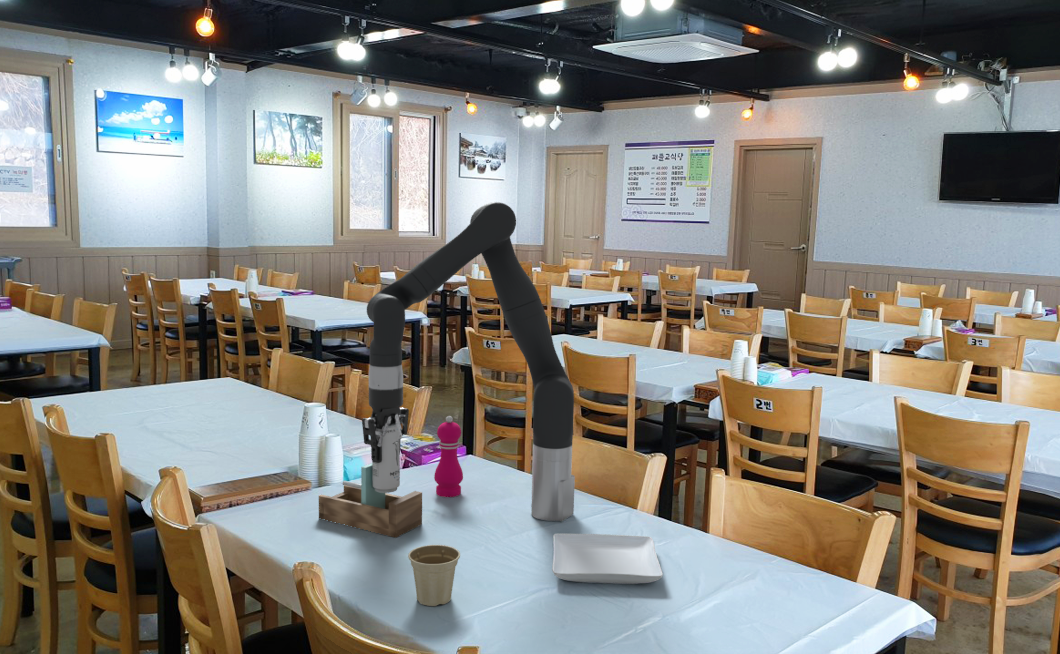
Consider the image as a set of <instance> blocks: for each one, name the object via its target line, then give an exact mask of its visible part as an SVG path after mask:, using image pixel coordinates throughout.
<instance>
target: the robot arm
mask: <svg viewBox="0 0 1060 654" xmlns="http://www.w3.org/2000/svg"><path fill="white" fill-rule="evenodd" d="M516 217H517V216H516V214H515V211H514V210H513V209H512V208H511V206H509V205H508V204H506V203H503V202H499V201H498V202H497V201H493V202H488V203H486V204H484V205H482V206H480V207H479V208H477V209H476V210H475V211H474V212H473V214H472V215H471V217H470V222H469V224H468V225H467V226H466V227H465V229H463V230H462V231H461V232H460V233H458V234H457V236H455V237H454V238H452V239H451V240H450V241H448V242H447V243H446V244H444V245H443V246H441V247H440V248H438V249H437V250H435V251H434V252H431V254H430V255H428V256H426V257H425V258H423V259H422V260H421V261H420V262H418V264H416V265H415V266H414V267H413V268H411V269H410V270H409V271H407V272H406V273H405V274H404V275H403V276H401V278H399V279H398V280H395V281H394V282H392V283H391V284H389V285H387V286H385V287H384V288H382V289H381V290H380V291H378V292H377V293H375V294H374V295H373V296H372V297H371V298H370V300H369V301H368V302H367V306H366V315H367V316H368V319H369V321H370V322H372V323H373V333H372V335H373V336H372V338H373V339H371V341H370V344H369V368H368V405H369V407H370V408H371V410H372V411H371V414H370V415H371V416H370V417H368V418H366V417H363V418H362V420H361V423H362V424H361V425H362V434H363V443H364V445H368V446H370V452H371V453H370V454H371V462H372V461H373V462H375V463H380V462H382V446H381V444H382V441H383V437H384V436H385V435H386V432H387V429H388V426H389V425H392V424H397V428H398V429H399V431H400V440H402V439H403V436H404V435H405V436H406V435H407V434H408V424H409V412H410V409H409V408H406V407H402V406H403V405H404V371H403V350H402V349H403V348H402V347H403V346H402V342H403V340H404V339H403V338H404V331H405V326H406V310H407V309H408V308H409V307H411V306H412V305H414V304H419V303H421V302H423V301H425V300H426V299H427V298H428V297H430V296H431V295H432V294H434V293H435V292H436V291H438V289H440V288H441V287H442V286H443V285H444V284H445V283H447V282H448V281H449V280H450V279H451V278H452V277H453V276H454V275H456V274H457V273H459V271H460V270H461V269H463V267H465V266H467V264H468V263H470V262H471V261H473V260H475V258H477V257H478V256H480V255H481V256H482V258H483V260H484V262H485V264H486V268H487V269H488V271H489V274H490V277H491V282H492V285H493V287H494V290H495V293H496V296H497V300H498V302H499V304H500V308H501V311H502V314H503V317H504V319H505V322H506V325H507V327H508V329H509V332H510V334H511V336H512V338H513V339H514V342H515V343H516V345H517V347H518V348H519V350H520V352H521V353H522V355H523V357H524V359H525V361H526V364H527V367H528V370H529V373H530V376H531V380H532V385H533V388H534V393H533V404H532V405H533V407H532V409H533V410H532V412H533V413H532V465H531V468H532V472H531V475H532V476H531V477H532V478H531V505H530V506H531V507H530V508H531V513H530V514H531V515H532V517H534V518H535V519H537V520H542V521H547V522H548V521H549V522H550V521H551V522H554V521H555V522H564V521H565V520H567V519H568V518H570V517H572V516H573V515H574V514H575V513H574V511H575V482H576V481H575V480H576V477H575V475H574V474H572V469H573V468H572V463H573V438H574V413H575V412H574V409H575V408H574V407H575V393H574V387H573V385H572V383H571V381H570V379H569V377H568V375H567V373H566V370H565V369H564V367H563V365H562V362H561V360H560V358H559V356H558V354H557V351H556V348H555V344H554V340H553V336H552V332H551V328H550V324H549V321H548V317H547V315H546V311H545V309H544V305H543V303H542V300H541V298H540V295H539V292H538V291H537V289H536V287H535V285H534V283H533V282H532V280H531V278H530V277H529V275H528V274H527V272H526V271H525V269H523V267H522V265H521V264H520V261H519V260H518V258H517V256H516V252H515V249H514V246H513V242H512V240H511V236H512V235H513V233H514V232H515V229H516V226H517V218H516ZM375 428H377V429H382V431H381V432H378V431H375ZM376 435H378V440H376ZM572 514H573V515H572Z"/></svg>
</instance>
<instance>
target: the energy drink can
mask: <svg viewBox="0 0 1060 654" xmlns="http://www.w3.org/2000/svg"><path fill="white" fill-rule="evenodd" d="M375 431H378V432H381V431H382V429H377V428H375ZM376 440H378V435H376ZM381 446H382V462H380V463H375V462H373V461H372V460H371V463H372V481H373V487H374V488H375V491H377V492H380V493H388V494H391V493H394V492H397V491H398V488H399V487H400V486H401V485H400V484H401V483H400V482H401V480H400V479H401V474H400V473H401V471H400V470H401V467H400V463H401V461H400V457H401V439H400V431H399V429H398V428H397V424H392V425H389V426H388V429H387V432H386V435H385V436H384V437H383V441H382V444H381Z"/></svg>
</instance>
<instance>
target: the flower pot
mask: <svg viewBox="0 0 1060 654" xmlns="http://www.w3.org/2000/svg"><path fill="white" fill-rule="evenodd" d="M407 558H408V560H409V561H410V565H411V568H412V570H413V578H414V585H415V592H416V599H417V601H418V602H419V604H421V605H422V606H423V605H424V606H428V607H437V606H438V605H446V604H448V603H449V602H450V601H451V599H452V593H453V586H454V581H455V580H454V579H455V572H456V567H457V565H458V563H459V560H460V558H461V552H460V551H459V549H457V548H456V547H453V546H450V545H446V544H444V545H443V544H428V545H422V546H418V547H415V548H414V549H412V550H410V551H409V553H408V557H407Z"/></svg>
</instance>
